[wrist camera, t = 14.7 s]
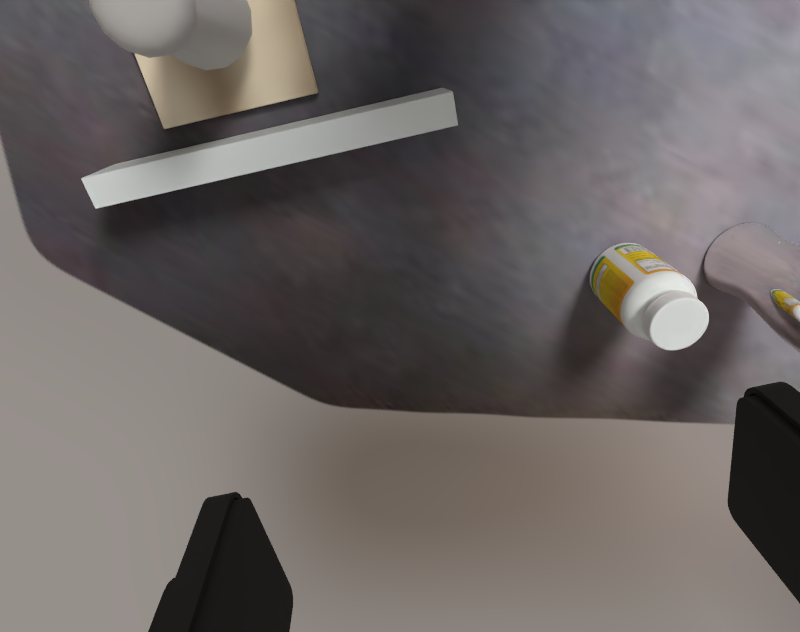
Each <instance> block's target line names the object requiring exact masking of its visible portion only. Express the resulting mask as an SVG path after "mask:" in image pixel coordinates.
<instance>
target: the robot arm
mask: <svg viewBox="0 0 800 632" xmlns="http://www.w3.org/2000/svg"><path fill="white" fill-rule="evenodd" d="M728 507H729V510H730V513H731V515H732V517H733V519H734V520H735V522H736V523H737V524H738V526H739V527H740V528H741V530H742V531H743V532H744V533H745V535H746V536H747V537H748V538H749V540H750V541H751V542H752V543H753V545H754V546H755V547H756V549H757V550H758V551H759V552H760V553H761V555H762V556H763V557H764V559H765V560H766V561H767V562H768V564H769V565H770V566H771V567H772V569H773V570H774V571H775V572H776V574H777V575H778V576H779V578H780V579H781V580H782V581H783V583H784V584H785V585H786V586H787V588H788V589H789V590H790V591H791V593H792V594H793V595H794V596H795V598H796V599H797V600H798V601H799V603H800V392H798V391H797V390H796V389H795V388H793V387H792V386H791V385H789V384H787V383H785V382H776V383H771V384H767V385H762V386H757V387H752V388H749V389H747V390H746V392H745V394H744V397H743V398H740V399H739V400H738V402H737V408H736V418H735V429H734V439H733V450H732V460H731V471H730V482H729V492H728ZM292 608H293V595H292V589H291V586H290V583H289V581H288V579H287V577H286V575H285V573H284V571H283V568H282V566H281V564H280V562H279V560H278V558H277V555H276V553H275V551H274V549H273V547H272V545H271V543H270V541H269V538H268V536H267V534H266V532H265V530H264V528H263V525H262V523H261V521H260V519H259V517H258V514H257V512H256V510H255V508H254V506H253V504H252V502H251V500H250V499H249V498H243V499H242V497H241V495H240V494H238V493H237V492H233V493H229V494H224V495H219V496H214V497H209V498H207V499H206V500H205V501H204V503H203V505H202V508H201V510H200V513H199V516H198V518H197V521H196V524H195V526H194V529H193V532H192V535H191V537H190V540H189V543H188V545H187V548H186V551H185V553H184V556H183V559H182V561H181V564H180V567H179V570H178V572H177V575H176V578H173V579H172V580H171V581H170V582H169V583H168V584H167V586H166V589H165V590H164V592H163V595H162V597H161V600H160V602H159V605H158V608H157V610H156V613H155V616H154V618H153V621H152V623H151V626H150V629H149V631H148V632H289V629H290V623H291V615H292Z"/></svg>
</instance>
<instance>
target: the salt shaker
mask: <svg viewBox="0 0 800 632" xmlns="http://www.w3.org/2000/svg"><path fill="white" fill-rule="evenodd" d="M89 4H90V10H91V11H92V13H93V15H94V17H95V18H96V20H97V22H98V24H99V25H100V27H101V29H102V31H103V32H104V33H105V34H106V35H107V36H109V37H110V38H111V39H112V40H113V41H114V42H115V43H117V44H118V45H119V46H120V47H121V48H122V49H124V50H126V51H129V52H132V53H136V54H139V55H142V56H145V57H148V58H152V57H159V56H166V55H171V56H173V57H175V58H176V59H178V60H180V61H181V62H183V63H185V64H188V65H191V66H194V67H197V68H200V69H203V70H206V71H207V70H213V69H220V68H227V67H228V66H229V65H230V64H232V63H233V62H234V61H235V60H237V59H238V58H239V57H240V56H242V55H243V54H244V52H245V50H246V47H247V45H248V43H249V40H250V38H251V35H252V17H251V9H250V7H249V4H248V2H247V0H89Z"/></svg>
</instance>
